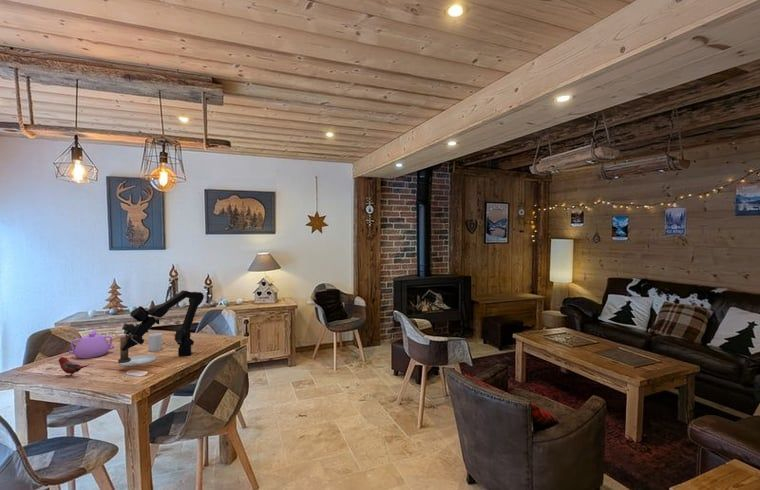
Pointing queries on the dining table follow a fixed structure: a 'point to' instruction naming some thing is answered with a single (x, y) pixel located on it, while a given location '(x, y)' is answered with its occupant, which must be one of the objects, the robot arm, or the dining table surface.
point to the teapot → (91, 346)
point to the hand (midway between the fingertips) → (121, 349)
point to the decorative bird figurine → (69, 366)
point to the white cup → (155, 341)
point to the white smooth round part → (139, 360)
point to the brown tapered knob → (123, 354)
